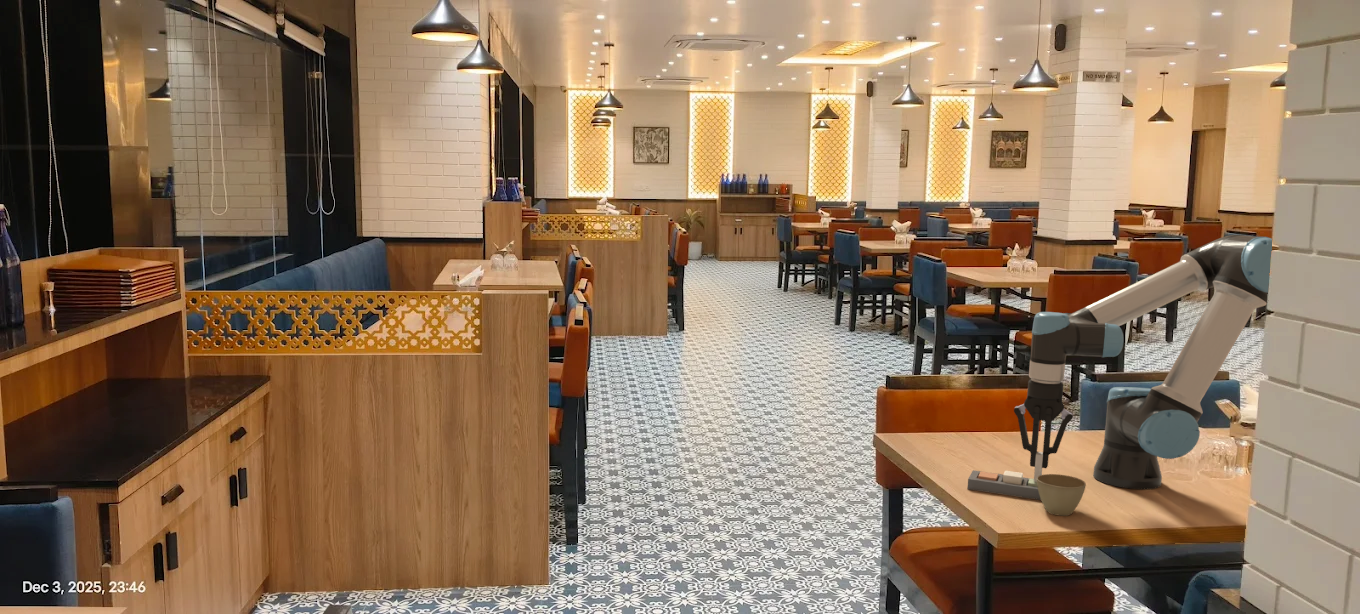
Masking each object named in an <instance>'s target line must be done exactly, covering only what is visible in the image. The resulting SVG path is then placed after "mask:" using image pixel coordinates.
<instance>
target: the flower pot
mask: <svg viewBox="0 0 1360 614" xmlns="http://www.w3.org/2000/svg"><path fill="white" fill-rule="evenodd" d="M1086 486H1087V483H1086V481H1084V480H1083V479H1081V478H1078V477H1076V476H1072V475H1066V474H1059V473H1058V474H1057V473H1056V474H1053V473H1049V474H1048V473H1047V474H1046V473H1045V474H1042V475H1039V476H1038V477H1037V487H1038V491H1039V495H1040V498H1041V500H1040V501H1041V503H1042V505H1043V506H1044V508H1045V510H1046V512H1048V513H1049V514H1051V515H1055V516H1060V517H1061V516H1063V517H1066V516H1070V515H1072V514H1073V512H1074V511H1075V510H1076V508H1077V507H1079V504H1080V502H1081V500H1082V498H1083V495H1084V493H1085V490H1086Z"/></svg>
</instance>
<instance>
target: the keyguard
mask: <svg viewBox="0 0 1360 614" xmlns="http://www.w3.org/2000/svg"><path fill="white" fill-rule="evenodd" d="M980 472H983V471H982V470H974V469H973V470H972V471H971V473H970V475H969V477H968V478H967V490H971V491H978V492H986V493H991V494H992V493H993V494H1000V495H1007V496H1011V497H1019V498H1025V499H1033V500H1038V501H1042V500H1041V498H1040V495H1039V491H1038V487H1033V486H1028V481H1029V477H1024V476H1023V480H1022V485H1019V484H1012V483H1005V482H1003V474H1004V473H1003V474H1001V473H996V472H995V473H994V472H993V473H994V474H998V481H992V480H985V479H978V476H979V474H980ZM986 472H987V473H990V472H988V471H986Z"/></svg>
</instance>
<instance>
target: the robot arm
mask: <svg viewBox="0 0 1360 614" xmlns="http://www.w3.org/2000/svg"><path fill="white" fill-rule="evenodd" d="M1272 239H1273V238H1271V237H1268V236H1252V235H1245V234H1231V235H1230V234H1229V235H1226V236H1223V237H1220V238H1217V239H1215V240H1213V241H1210V242H1208V243H1206V244H1204V245H1201V246H1199V247H1197V248H1195V249H1193V250H1191V251H1189V252H1188V253H1185V254H1183V255H1181V257H1180V260H1179V261H1178V262H1176V263H1173V264H1172V265H1169V266H1168V267H1166V268H1164V269H1161V270H1160V271H1157V272H1156V273H1154V274H1151V275H1150V276H1148V277H1146V278H1144V279H1141V280H1139V281H1137V282H1135V283H1133V284H1130V285H1128V286H1127V287H1125V288H1123V289H1121V290H1118V291H1116V292H1114V293H1112V294H1110V295H1109V296H1108V295H1107V296H1106V297H1104V298H1102V299H1099V300H1098V301H1095V302H1093V303H1092V304H1089V305H1087V306H1085V307H1082V308H1081V309H1078V310H1076V311H1074V312H1072V313H1070V312H1069V313H1068V312H1065V313H1064V312H1063V313H1062V312H1058V311H1057V312H1054V311H1040V312H1037V313H1036V314H1035V315H1034V318H1033V323H1032V330H1031V344H1030V357H1029V358H1030V359H1029V369H1028V377H1029V378H1030V379H1029V380H1028V381H1027V393H1026V394H1027V395H1026V399H1025V400H1024V403H1023V404H1020V405H1016V406H1015V407H1014V408H1013V412H1014V415H1015V416H1016V418H1017V421H1018V428H1019V433H1020V438H1021V444H1022V448H1023V449H1024V450H1025V451H1028V452H1030V459H1029V465H1030V467H1032V468H1033V467H1034V472H1033V473H1034V474H1033V479H1034V482H1037V477H1038V476H1039V475H1043V469H1048V467H1049V458H1050V457H1049V455H1052V454H1057V453H1058V450H1059V447H1060V444H1061V442H1062V439H1063V437H1064V434H1065V431H1066V428H1067V425H1068V424H1069V423H1070V422H1071V421H1072V420H1073V418H1074V417H1073V416H1074V413H1073V412H1071V411H1068V410H1067V409H1066V408H1065V405H1064V402H1063V397H1064V396H1063V394H1064V383H1063V381H1064V380H1065V369H1066V362H1067V361H1066V359H1067V356H1077V357H1078V356H1081V357H1101V358H1107V357H1108V358H1111V357H1112V358H1114V357H1117V356H1118V355H1119V354H1121V352H1122V350H1123V347H1124V333H1123V329H1122V328H1121V327H1120V326H1123V325H1125V324H1127V323H1129V322H1132V321H1133V320H1135V319H1138V318H1140V317H1142V316H1144V315H1146V314H1148V313H1150V312H1152V311H1154V310H1156V309H1158V308H1161V307H1163V306H1165V305H1167V304H1170V303H1171V302H1174V301H1176V300H1178V299H1180V298H1182V297H1183V296H1186V295H1188V294H1190V293H1192V292H1194V291H1200V292H1205V291H1207V290H1209V289H1211V288H1214V291H1215V292H1214V293H1213V295H1212V297H1211V299H1210V301H1209V303H1208V304H1207V306H1206V307H1205V310H1204V311H1203V313H1202V315H1201V317H1200V318H1199V320H1198V322H1197V323H1196V325H1195V326H1194V328H1193V331H1192V332H1191V333H1190V335H1189V337H1188V338H1187V340H1186V342H1185V344H1184V346H1183V348H1182V349H1181V351H1180V353H1179V354H1178V356H1177V359H1176V360H1175V361H1174V363H1173V365H1172V367H1171V368H1170V369H1169V372H1168V373H1167V375H1166V377H1165V379H1164V380H1163V382H1162V383H1161V384H1160V385H1155V386H1152V387H1151V388H1149V387H1131V386H1129V387H1128V386H1125V387H1124V386H1116V387H1115V386H1114V387H1111V388H1110V389H1109V391H1108V397H1107V399H1106V415H1105V427H1104V440H1103V446H1102V449H1101V451H1100V454H1099V456H1098V457H1097V460H1096V462H1095V464H1094V466H1093V478H1095V479H1096V480H1098V481H1099V482H1101V483H1104V484H1106V485H1110V486H1114V487H1118V488H1125V489H1131V490H1132V489H1133V490H1154V489H1159V488H1160V487H1161V486H1162V478H1163V475H1162V471H1161V467H1160V464H1159V460H1158V458H1161V459H1164V460H1172V459H1173V460H1174V459H1178V458H1181V457H1183V456H1186V455H1188V453H1190V452H1192V450H1193V449H1195V447H1197V446H1196V445H1198V442H1199V438H1200V435H1201V433H1200V429H1199V426H1200V425H1199V424H1198V422H1199V420H1200V418H1201V417H1202V415H1203V412H1204V411H1203V408H1202V406H1201V401H1202V399H1203V398H1204V397H1205V395H1206V393H1207V391H1208V390H1209V388H1210V387H1211V384H1212V383H1213V381H1214V379H1215V377H1216V376H1217V374H1218V373H1219V371H1220V369H1221V367H1222V365H1224V362H1225V361H1226V359H1227V357H1228V355H1229V354H1230V352H1231V350H1232V349H1233V347H1234V345H1235V344H1236V342H1237V340H1238V338H1239V336H1240V335H1241V334H1242V332H1243V329H1244V328H1245V326H1246V325H1247V323H1248V321H1249V320H1250V318H1251V316H1252V314H1253V312H1254V311H1255V310H1256V309H1258V308H1262V307H1264V306H1266V305H1267V304H1268V302H1267V294H1268V283H1269V273H1270V257H1271V251H1272ZM1026 411H1027V412H1028V414H1029V415H1030V417H1031V418H1032V419H1033V422H1032V435H1031V443H1030V441H1029V435H1028V429H1027V424H1026V417H1025V413H1026ZM1060 414H1061V416H1060V417H1061V423H1060V426H1059V428H1058V431H1057V434H1056V436H1055V439H1054V442H1053V445H1052V446H1051V435H1052V433H1051V432H1052V421H1054V420H1055V419H1056V418H1057V417H1058V416H1059V415H1060ZM1041 421H1044V422H1045V423H1044V436H1043V446H1042V451H1038V444H1039V431H1040V422H1041Z"/></svg>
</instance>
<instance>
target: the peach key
mask: <svg viewBox="0 0 1360 614" xmlns="http://www.w3.org/2000/svg"><path fill="white" fill-rule="evenodd" d="M987 472H988V471H982V472H980V474H979V476H978V479H985V480H992V481H998V474H999V473H996V474H994V472H989V473H987Z"/></svg>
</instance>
